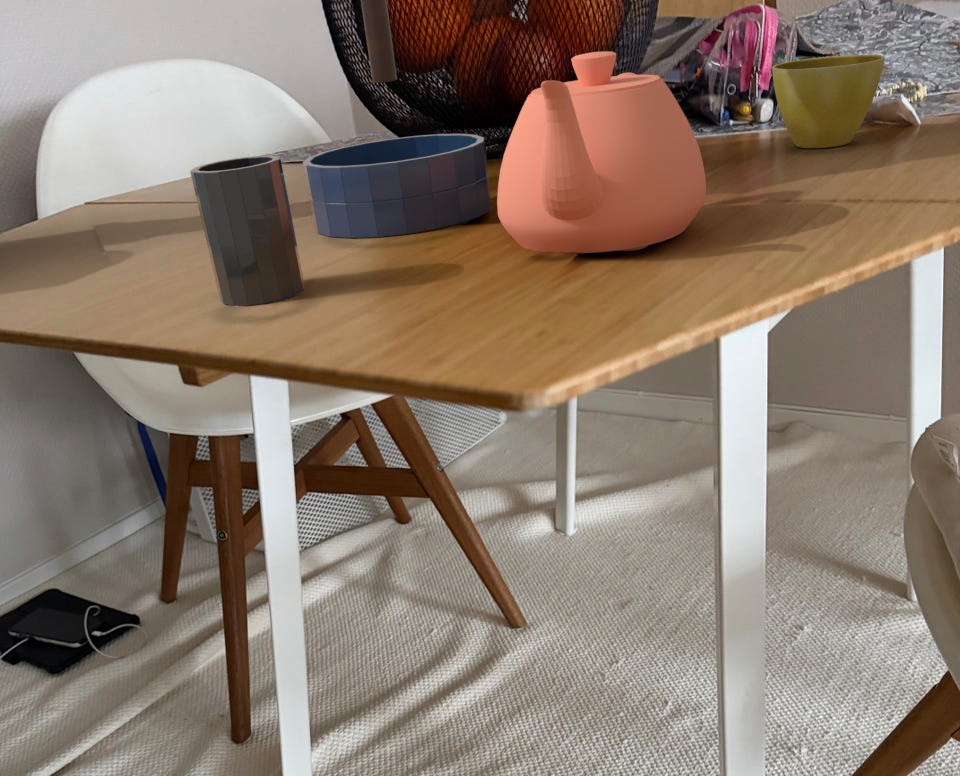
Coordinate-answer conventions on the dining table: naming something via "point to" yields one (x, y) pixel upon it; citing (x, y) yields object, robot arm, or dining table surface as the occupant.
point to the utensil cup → (249, 230)
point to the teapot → (600, 163)
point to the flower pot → (826, 97)
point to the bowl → (398, 185)
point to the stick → (379, 40)
